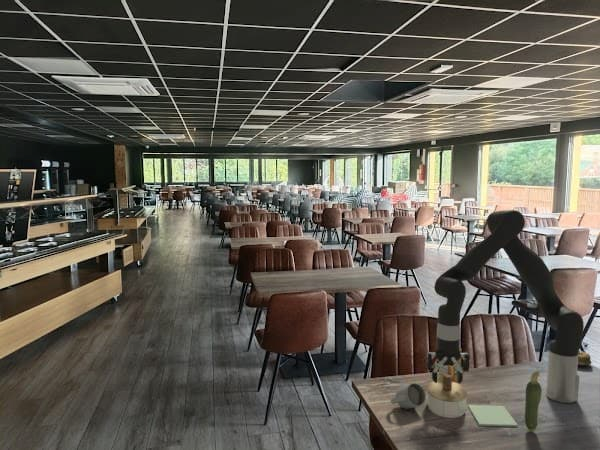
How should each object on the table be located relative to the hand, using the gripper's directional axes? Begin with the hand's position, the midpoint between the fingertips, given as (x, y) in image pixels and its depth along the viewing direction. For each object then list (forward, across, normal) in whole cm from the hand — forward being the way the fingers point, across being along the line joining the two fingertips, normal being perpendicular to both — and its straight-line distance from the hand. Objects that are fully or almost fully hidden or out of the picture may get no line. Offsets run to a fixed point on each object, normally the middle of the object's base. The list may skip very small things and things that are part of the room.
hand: (446, 382), depth 155 cm
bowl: (+10, 0, 0) cm, 10 cm away
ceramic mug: (+10, +14, +2) cm, 17 cm away
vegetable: (+10, -23, +12) cm, 28 cm away
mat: (+10, -14, +4) cm, 17 cm away
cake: (+10, -66, -43) cm, 80 cm away
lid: (+4, 0, 0) cm, 4 cm away
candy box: (+10, -5, -15) cm, 19 cm away
